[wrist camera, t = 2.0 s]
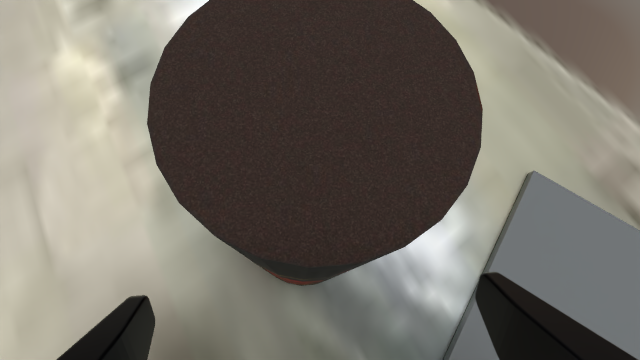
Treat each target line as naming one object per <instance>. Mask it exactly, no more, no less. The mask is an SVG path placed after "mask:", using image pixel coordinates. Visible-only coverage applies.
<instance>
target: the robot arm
mask: <svg viewBox="0 0 640 360" xmlns="http://www.w3.org/2000/svg"><path fill="white" fill-rule="evenodd" d="M475 300H476V303H477V306H478V308H479V311H480V314H481V316H482V319H483V321H484V324H485V326H486V329H487V331H488V334H489V336H490V339H491V341H492V344H493V347H494V349H495V351H496V354H497V356H498V358H499V360H638V359H637V358H635V357H633V356H632V355H630V354H629V353H627V352H625V351H624V350H622V349H621V348H619V347H617V346H616V345H614V344H613V343H611V342H609V341H608V340H606V339H604V338H603V337H601V336H600V335H598V334H596V333H595V332H593V331H592V330H590V329H588V328H587V327H585V326H584V325H582V324H580V323H579V322H577V321H576V320H574V319H572V318H571V317H569V316H568V315H566V314H564V313H563V312H561V311H560V310H558V309H556V308H555V307H553V306H551V305H550V304H548V303H547V302H545V301H543V300H542V299H540V298H539V297H537V296H535V295H534V294H532V293H531V292H529V291H527V290H526V289H524V288H523V287H521V286H519V285H518V284H516V283H515V282H513V281H511V280H510V279H508V278H507V277H505V276H503V275H502V274H500V273H498V272H485V273H482V274H481V276H480V279H479V282H478V286H477V289H476V293H475ZM154 328H155V316H154V313H153V310H152V307H151V303H150V300H149V298H148V297H147V296H145V295H142V296H131V297H129V298H127V299H126V300H125V301H124V302H123V303H122V304H120V305H119V306H118V307H117V308H116V309H115V310H113V311H112V312H111V313H110V314H109V315H108V316H106V317H105V318H104V319H103V320H102V321H101V322H100V323H98V324H97V325H96V326H95V327H94V328H93V329H91V330H90V331H89V332H88V333H87V334H86V335H84V336H83V337H82V338H81V339H80V340H79V341H78V342H76V343H75V344H74V345H73V346H72V347H71V348H69V349H68V350H67V351H66V352H65V353H64V354H62V355H61V356H60V357H59V358H58V359H57V360H147V358H148V354H149V349H150V345H151V341H152V336H153V332H154Z"/></svg>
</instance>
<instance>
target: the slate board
mask: <svg viewBox="0 0 640 360" xmlns="http://www.w3.org/2000/svg"><path fill="white" fill-rule="evenodd" d="M485 272H498V273H500V274H502V275H503V276H505V277H507V278H508V279H510V280H511V281H513V282H515V283H516V284H518V285H519V286H521V287H523V288H524V289H526V290H527V291H529V292H531V293H532V294H534V295H535V296H537V297H539V298H540V299H542V300H543V301H545V302H547V303H548V304H550V305H551V306H553V307H555V308H556V309H558V310H560V311H561V312H563V313H564V314H566V315H568V316H569V317H571V318H572V319H574V320H576V321H577V322H579V323H580V324H582V325H584V326H585V327H587V328H588V329H590V330H592V331H593V332H595V333H596V334H598V335H600V336H601V337H603V338H604V339H606V340H608V341H609V342H611V343H613V344H614V345H616V346H617V347H619V348H621V349H622V350H624V351H625V352H627V353H629V354H630V355H632V356H633V357H635V358H637V359H638V360H640V230H638V229H636V228H634V227H633V226H631V225H629V224H627V223H626V222H624V221H622V220H620V219H619V218H617V217H615V216H613V215H612V214H610V213H608V212H606V211H605V210H603V209H601V208H599V207H598V206H596V205H594V204H592V203H591V202H589V201H587V200H585V199H583V198H582V197H580V196H578V195H576V194H575V193H573V192H571V191H569V190H568V189H566V188H564V187H562V186H561V185H559V184H557V183H555V182H554V181H552V180H550V179H548V178H547V177H545V176H543V175H541V174H540V173H538V172H536V171H532V172H530V173H528V175H527V178H526V180H525V182H524V184H523V186H522V188H521V191H520V193H519V195H518V197H517V199H516V202H515V204H514V206H513V208H512V210H511V213H510V215H509V217H508V219H507V221H506V223H505V226H504V228H503V230H502V232H501V234H500V237H499V239H498V241H497V243H496V245H495V248H494V250H493V252H492V254H491V256H490V258H489V261H488V263H487V265H486V267H485V269H484V272H483V273H485ZM477 286H478V285H477ZM476 289H477V287H476ZM476 289H475V291H474V293H473V296H472V298H471V300H470V302H469V304H468V307H467V309H466V311H465V313H464V315H463V317H462V320H461V322H460V324H459V326H458V328H457V331H456V333H455V335H454V337H453V339H452V342H451V344H450V346H449V348H448V350H447V352H446V355H445V357H444V359H443V360H499V358H498V356H497V354H496V351H495V349H494V347H493V344H492V341H491V339H490V336H489V334H488V331H487V329H486V326H485V324H484V321H483V319H482V316H481V314H480V311H479V308H478V306H477V303H476V300H475V293H476Z"/></svg>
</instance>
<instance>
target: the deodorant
mask: <svg viewBox="0 0 640 360" xmlns="http://www.w3.org/2000/svg"><path fill="white" fill-rule="evenodd" d="M482 112H483V109H482V104H481V100H480V96H479V92H478V88H477V84H476V80H475V75H474V72H473V70H472V68H471V67H470V65H469V63H468V61H467V59H466V57H465V56H464V54H463V52H462V50H461V48H460V46H459V45H458V43H457V41H456V40H455V38H454V37H453V36H452V35H451V34H450V33H449V32H448V31H447V30H446V29H445V28H444V26H443V25H442V24H441V23H440V22H439V21H438V20H437V19H436V18H435V17H434V16H433V15H432V13H431V12H429V11H428V10H426V9H425V8H423V7H422V6H421V5H419V4H418V3H416V2H415V1H413V0H209V1H208V2H207V3H205V4H204V5H203V6H202V7H200V8H199V9H198V10H196V11H195V12H194V13H193V14H191V15H190V16H189V17H188V18H187V19H186V20H185V22H184V23H183V24H182V26H181V27H180V28H179V29H178V31H177V32H176V33H175V35H174V36H173V37H172V39H171V40H170V41H169V43H168V44H167V45H166V46H165V48H164V51H163V53H162V56H161V58H160V61H159V63H158V66H157V69H156V71H155V74H154V76H153V79H152V81H151V85H150V97H149V109H148V121H147V125H148V129H149V133H150V138H151V142H152V146H153V151H154V155H155V160H156V164H157V166H158V168H159V169H160V171H161V173H162V175H163V176H164V178H165V180H166V181H167V183H168V185H169V187H170V188H171V190H172V192H173V193H174V195H175V197H176V198H177V200H178V202H179V203H180V204H181V205H182V206H183V207H184V208H185V209H186V210H187V211H188V212H189V213H190V214H192V215H193V216H194V217H195V218H196V219H197V220H198V221H199V222H200V223H201V224H202V225H203V226H204V227H206V228H207V229H208V230H209V231H210V232H211V233H212V234H213V235H214V236H216V237H217V238H219V239H220V240H222V241H223V242H225V243H226V244H228V245H229V246H231V247H232V248H234V249H235V250H236V251H238V252H239V253H241V254H242V255H244V256H245V257H247V258H248V259H250V260H251V261H253V262H254V263H256V264H257V265H259V266H260V267H262V268H263V269H265V270H266V271H268V272H269V273H271V274H272V275H274V276H275V277H277V278H279V279H281V280H283V281H285V282H287V283H291V284H296V285H313V284H317V283H320V282H323V281H326V280H328V279H331V278H333V277H335V276H338V275H340V274H342V273H345V272H347V271H349V270H352V269H354V268H356V267H359V266H361V265H363V264H366V263H368V262H370V261H373V260H375V259H377V258H380V257H382V256H384V255H387V254H389V253H392V252H394V251H396V250H399V249H401V248H403V247H405V246H407V245H408V244H409V243H411V242H412V241H413V240H415V239H416V238H417V237H419V236H420V235H422V234H423V233H424V232H426V231H427V230H428V229H430V228H431V227H432V226H434V225H435V224H437V223H438V222H439V221H441V220H442V219H443V217H444V216H445V215H446V213H447V212H448V211H449V209H450V208H451V207H452V205H453V204H454V203H455V201H456V200H457V199H458V197H459V196H460V195H461V193H462V192H463V191H464V189H465V188H466V186H467V185H468V182H469V179H470V176H471V173H472V171H473V168H474V165H475V162H476V159H477V157H478V154H479V151H480V148H481V132H482Z"/></svg>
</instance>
